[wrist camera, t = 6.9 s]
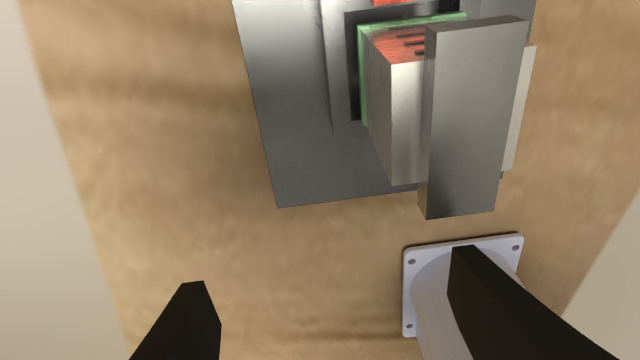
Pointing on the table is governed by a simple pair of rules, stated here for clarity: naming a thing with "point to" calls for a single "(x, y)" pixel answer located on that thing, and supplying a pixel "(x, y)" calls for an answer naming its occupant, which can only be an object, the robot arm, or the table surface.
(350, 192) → the stand
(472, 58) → the grey block
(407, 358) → the table surface
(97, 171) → the table surface
